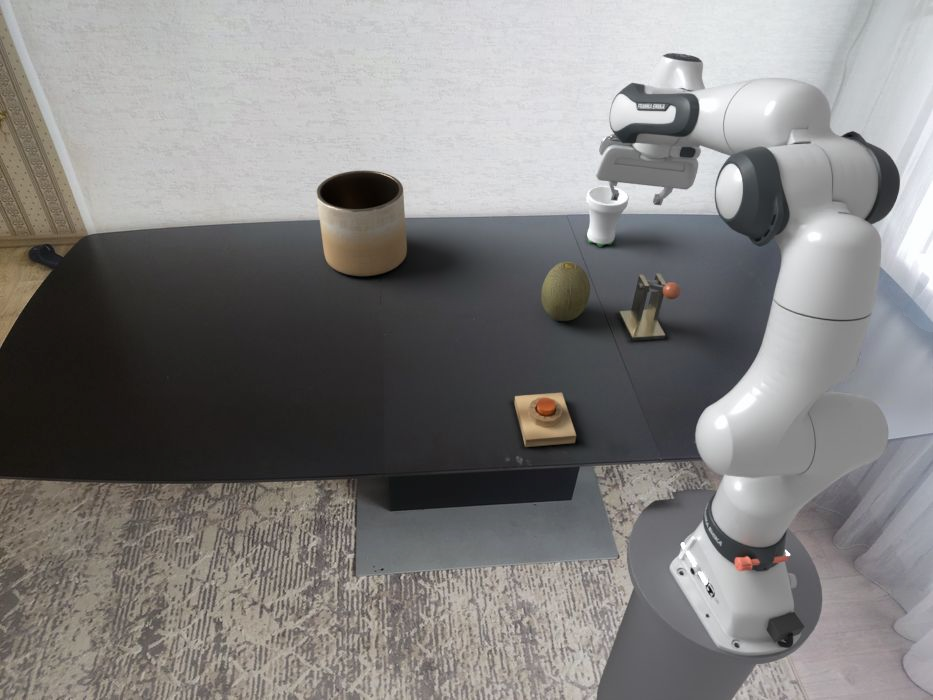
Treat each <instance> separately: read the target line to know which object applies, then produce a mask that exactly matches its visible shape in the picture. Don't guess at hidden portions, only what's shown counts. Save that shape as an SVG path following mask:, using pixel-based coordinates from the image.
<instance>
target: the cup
mask: <svg viewBox="0 0 933 700" xmlns="http://www.w3.org/2000/svg"><path fill="white" fill-rule="evenodd" d="M614 189H615V190H618V191H619V197H618V200H617V201H614V200H610V198H609V195H610V192H611V188H610V185H598V186H594V187H592V188H590V189H589V190H588V191H587V193H586V199H585V202H586V205H587V207H588V213H589V226H588V229H587V234H586V236H587V242H588V243H589V244H596V245H597V247H599V248H601V247H604V246H605V245H608V246H611V245H612V244H613V242H614V241H615V238H616V228H617V224H618V221H619V219H620V217H621V216H622V214H623V212H624V211H625V210H626V208H627V207H628V203H629V199H630V197H629V195H628V194H627V192H626V191H624V190H623V189H621V188H619V187H617V186H614Z"/></svg>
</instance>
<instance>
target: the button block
mask: <svg viewBox="0 0 933 700" xmlns="http://www.w3.org/2000/svg"><path fill="white" fill-rule="evenodd" d="M542 398H549V399H551V400H553V401H554V402H555V411H554V414H553V415H552V416H549V417H544V416H541V415H539V414H538V413H537V402H538V401H539V400H540V399H542ZM514 407H515V411H516V415H517V420H518V424H519V428H520V432H521V435H522V439H523V443H524V447H525V448H530V447H542V446H554V445H565V444H575V443H576V439H577V434H576V430H575V427H574V424H573V422H572V418H571V415H570V413H569V409H568V406H567V404H566V400H565V397H564V394H563V392H550V393H540V394H539V393H538V394H537V393H536V394H525V395H515V396H514Z"/></svg>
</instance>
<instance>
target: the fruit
mask: <svg viewBox="0 0 933 700" xmlns="http://www.w3.org/2000/svg"><path fill="white" fill-rule="evenodd" d="M590 295H591V283H590V279H589V276H588V274H587V272H586V271H585V270H584V268H583V267H582V266H581V265H579V264H578V263H575V262H573V261H562V262H559V263H557V264H556V265H554V266H553V267H552V268H551V269H550V271H548V273H547V275H546V276H545V279H544V281H543V283H542V286H541V303H542V307H543V309H544V312H546V314H547V315H548V316H549V317H551V318H552V319H554V320H555V321H558V322H569V321H572V320H575V319H576V318H578V317H579V316H580V315H581V314H582V313H583V312H584V310H585V309H586V307H587V305H588V303H589V299H590Z"/></svg>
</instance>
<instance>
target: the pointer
mask: <svg viewBox="0 0 933 700" xmlns="http://www.w3.org/2000/svg"><path fill="white" fill-rule="evenodd" d="M646 280H647V282H648V284H649V290H648V293H651V292H657V291H662V292H663V294H664V296H663V297H665V298H666V299H667V300H675V299H678V297H679V296H680V295H681V287H680V285H679V284H678V283H677V282H674V281H673V282H671V281H670V282H666V285H665V286H662V285H658V281H656V280H655V279H646Z"/></svg>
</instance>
